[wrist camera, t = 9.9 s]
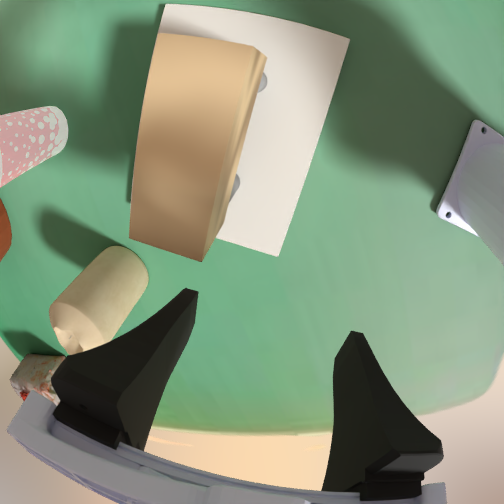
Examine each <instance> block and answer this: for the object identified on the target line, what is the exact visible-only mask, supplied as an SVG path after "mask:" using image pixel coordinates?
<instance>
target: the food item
mask: <svg viewBox="0 0 504 504" xmlns="http://www.w3.org/2000/svg"><path fill="white" fill-rule="evenodd" d="M65 358H66V357H65V356H49V355H37V354H27V355H26V356H25V357H24V359H23V360H22V361H21V363H20V365H19V366H18V368H17V369H16V370H15V372H14V374H12V377H11V379H10V381H11V385H12V387H13V389H14V390H15V392H16V393H17V394H18V395H19V396H20V397H21V398H22V399H23V400H24V401H25V399H26V398H27V396H28V395H29V393H30V392H31V390H34V391H36V392H37V393H39V394H41V395H42V396H44V397H46V398H47V399H49V400H50V401H52V402H53V403H54V404H56V406H57V405H58V404H59V402H60V399H59V398H58V396H57V394H56V392H55V390H54V389H53V387H52V384H51V377H52V375H53V374H54V372H55V371H56V369H57V368H58V366H59V365H60V364H61V362H62V361H63V360H64V359H65Z"/></svg>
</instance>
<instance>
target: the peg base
mask: <svg viewBox="0 0 504 504" xmlns="http://www.w3.org/2000/svg"><path fill="white" fill-rule="evenodd" d="M158 33H166V34H178V35H187V36H196V37H203V38H211V39H217V40H223V41H229V42H235V43H240V44H245V45H250V46H254V47H255V48H256V49H258V50H259V51H260V52H261V53H263V54H264V55H265V56H266V57H267V61H266V64H265V68H264V71H263V75H262V78H261V82H260V85H259V89H258V92H257V96H256V100H255V103H254V107H253V111H252V114H251V118H250V122H249V126H248V129H247V133H246V137H245V141H244V144H243V148H242V152H241V156H240V160H239V164H238V168H237V172H236V176H235V180H234V184H233V188H232V192H231V196H230V200H229V204H228V208H227V212H226V216H225V221H224V224H223V225H222V227H221V229H220V231H219V232H218V234H217V236H216V238H218V239H221V240H225V241H228V242H231V243H234V244H238V245H241V246H244V247H247V248H251V249H254V250H257V251H260V252H264V253H267V254H270V255H273V256H277V257H278V256H279V253H280V250H281V247H282V245H283V242H284V239H285V236H286V233H287V230H288V228H289V225H290V222H291V219H292V216H293V213H294V210H295V208H296V205H297V202H298V199H299V196H300V193H301V190H302V187H303V184H304V181H305V178H306V175H307V172H308V170H309V167H310V164H311V161H312V158H313V155H314V152H315V149H316V146H317V143H318V139H319V136H320V133H321V130H322V127H323V124H324V121H325V118H326V115H327V112H328V109H329V106H330V102H331V99H332V96H333V93H334V90H335V87H336V84H337V80H338V77H339V74H340V71H341V67H342V64H343V61H344V58H345V54H346V51H347V48H348V45H349V41H350V39H349V38H346V37H343V36H340V35H337V34H334V33H331V32H328V31H324V30H321V29H318V28H314V27H311V26H307V25H304V24H300V23H296V22H292V21H288V20H284V19H279V18H275V17H270V16H266V15H260V14H255V13H250V12H244V11H237V10H231V9H223V8H215V7H206V6H195V5H180V4H166V5H165V8H164V12H163V15H162V19H161V22H160V26H159V30H158ZM157 37H158V34H157ZM156 41H157V38H156ZM155 45H156V42H155ZM154 49H155V46H154ZM153 53H154V50H153ZM152 58H153V55H152ZM151 62H152V59H151ZM150 67H151V64H150ZM149 71H150V69H149ZM148 76H149V73H148ZM147 81H148V78H147ZM146 86H147V83H146ZM145 92H146V89H145ZM144 97H145V94H144ZM143 103H144V100H143ZM142 109H143V106H142ZM141 115H142V112H141ZM140 121H141V118H140ZM139 127H140V124H139ZM138 134H139V131H138ZM137 142H138V139H137ZM136 149H137V146H136ZM135 158H136V154H135ZM134 166H135V163H134ZM133 176H134V173H133ZM132 187H133V183H132ZM131 198H132V195H131ZM130 212H131V209H130Z"/></svg>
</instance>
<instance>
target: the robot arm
mask: <svg viewBox="0 0 504 504" xmlns="http://www.w3.org/2000/svg"><path fill="white" fill-rule="evenodd" d="M482 127H484V132H483V133H482V131H481V129H482ZM447 212H450V213H449V215H448V216H446V213H447ZM436 213H437V215H438V216H439V217H440V218H441V219H443V220H446V221H448V222H450V223H452V224H454V225H456V226H458V227H460V228H462V229H464V230H466V231H468V232H470V233H472V234H474V235H476V236H478V237H480V238H481V239H482V240H483V242H484V243H485V244H486V245H487V246H488V247H489V249H490V250H491V251H492V252H493V253H494V255H495V256H496V257H497V258H498V259H499V261H500V262H501V263H502V264H503V266H504V137H503V136H502V135H500V134H499V133H498V132H496V131H495V130H493V129H492V128H490V127H489V126H488V125H486V124H485V123H483V122H482V121H479V120H474V121H473V122H472V124H471V127H470V130H469V133H468V136H467V138H466V141H465V144H464V146H463V149H462V152H461V154H460V157H459V159H458V162H457V164H456V167H455V169H454V171H453V174H452V176H451V178H450V181H449V183H448V185H447V188H446V190H445V192H444V194H443V196H442V199H441V201H440V203H439V205H438V207H437V210H436ZM197 299H198V291H194V290H191V289H187V288H185V289H183V290H182V291H181V292H180V293H179V294H178V295H177V296H176V297H175V298H173V299H172V300H171V301H170V302H169V303H168V304H167V305H165V306H164V307H163V308H162V309H160V310H159V311H158V312H157V313H156V314H154V315H153V316H151V317H150V318H149V319H147V320H146V321H145V322H143V323H142V324H140V325H139V326H137V327H136V328H134V329H132V330H131V331H129V332H127V333H125V334H124V335H122V336H120V337H118V338H116V339H114V340H112V341H110V342H107V343H105V344H103V345H100V346H98V347H95V348H92V349H90V350H87V351H83V352H80V353H76V354H73V355H69V356H67V357H66V358H65V359H64V360H63V361H62V362H61V364H60V365H59V366H58V368H57V369H56V371H55V372H54V374H53V375H52V377H51V384H52V387H53V389H54V390H55V392H56V394H57V396H58V398H59V399H60V402H59V404H58V405H57V406H56V404H54V403H53V402H52V401H50V400H49V399H47V398H46V397H44V396H42V395H41V394H39V393H37V392H36V391H34V390H31V392H30V393H29V395H28V396H27V398H26V399H25V401H24V402H23V404H22V405H21V407H20V409H19V410H18V412H17V413H16V415H15V417H14V418H13V420H12V421H11V423H10V425H9V426H8V428H7V432H8V433H9V434H10V435H11V436H12V437H13V438H14V439H15V440H16V441H17V442H18V443H19V444H20V445H21V446H22V447H24V448H25V449H26V450H27V451H28V452H29V453H31V454H32V455H34V456H35V457H36V458H38V459H40V460H41V461H43V462H44V463H46V464H47V465H49V466H51V467H52V468H54V469H55V470H57V471H59V472H60V473H62V474H63V475H65V476H67V477H69V478H70V479H72V480H74V481H76V482H77V483H79V484H81V485H83V486H85V487H87V488H88V489H90V490H92V491H94V492H96V493H98V494H100V495H102V496H104V497H106V498H108V499H110V500H112V501H114V502H117V503H119V504H447V501H446V490H445V489H446V488H445V483H444V482H442V483H433V484H427V485H423V486H421V481H422V480H424V473H425V472H426V471H428V470H429V469H431V468H433V467H434V466H436V465H437V464H438V463H440V462H441V461H442V459H443V457H444V455H443V448H442V443H441V440H440V439H439V438H437V437H436V436H435V435H434V434H433V433H431V432H430V431H429V430H428V429H427V428H426V427H425V426H424V425H423V424H422V423H421V422H420V421H419V420H418V419H417V418H416V417H415V416H414V415H413V414H412V413H411V411H410V410H409V409H408V408H407V407H406V405H405V404H404V403H403V402H402V400H401V399H400V397H399V396H398V395H397V393H396V392H395V390H394V389H393V387H392V386H391V384H390V383H389V381H388V379H387V378H386V376H385V374H384V373H383V371H382V369H381V367H380V365H379V363H378V362H377V360H376V358H375V356H374V354H373V352H372V350H371V348H370V346H369V344H368V342H367V340H366V338H365V336H364V334H363V333H360V332H355V331H351V332H350V334H349V335H348V337H347V339H346V340H345V342H344V344H343V345H342V347H341V349H340V350H339V352H338V354H337V355H336V357H335V361H334V371H333V397H334V426H333V435H332V443H331V449H330V455H329V460H328V465H327V470H326V475H325V479H324V483H323V487H322V490H321V491H314V490H302V489H294V488H286V487H279V486H271V485H266V484H260V483H254V482H249V481H243V480H239V479H235V478H230V477H225V476H221V475H217V474H213V473H210V472H206V471H202V470H198V469H195V468H191V467H188V466H185V465H181V464H178V463H175V462H172V461H169V460H166V459H163V458H160V457H158V456H155V455H152V454H149V453H147V452H144V448H145V445H146V441H147V438H148V435H149V431H150V429H151V426H152V423H153V420H154V417H155V414H156V411H157V408H158V405H159V402H160V400H161V397H162V394H163V392H164V389H165V386H166V384H167V382H168V379H169V377H170V375H171V373H172V371H173V369H174V367H175V366H176V364H177V362H178V360H179V358H180V356H181V354H182V352H183V350H184V348H185V346H186V344H187V342H188V340H189V337H190V335H191V332H192V329H193V326H194V324H195V316H196V308H197Z"/></svg>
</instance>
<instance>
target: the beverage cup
mask: <svg viewBox="0 0 504 504" xmlns="http://www.w3.org/2000/svg"><path fill="white" fill-rule="evenodd" d="M67 139H68V124H67V119H66V117H65V116H64V114H63V112H62V111H61V110H60V109H59V108H57V107H54V106H46V107H40V108H34V109H29V110H23V111H18V112H13V113H8V114H4V115H0V187H2V186H3V185H5V184H6V183H8V182H10V181H11V180H13V179H14V178H16V177H18V176H19V175H21V174H23V173H24V172H26V171H28V170H29V169H31V168H33V167H34V166H36V165H38V164H40V163H41V162H43V161H45V160H47V159H49V158H50V157H52V156H54V155H56V154H58V153H59V152H60V151H61V150H62V149H63V148H64V147H65V144H66V142H67Z"/></svg>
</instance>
